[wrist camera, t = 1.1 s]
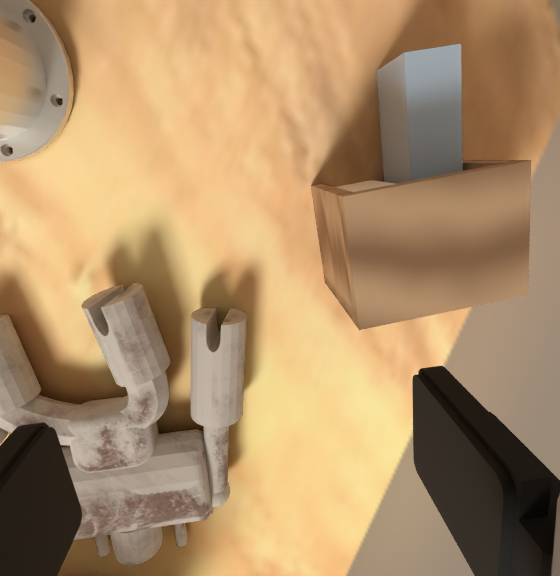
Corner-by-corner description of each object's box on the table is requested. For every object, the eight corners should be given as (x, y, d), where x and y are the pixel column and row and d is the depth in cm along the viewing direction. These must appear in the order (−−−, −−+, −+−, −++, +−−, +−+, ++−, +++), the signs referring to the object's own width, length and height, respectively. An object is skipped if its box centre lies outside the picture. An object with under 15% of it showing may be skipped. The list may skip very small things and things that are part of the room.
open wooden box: (310, 185, 35) (342, 196, 24) (443, 160, 35) (531, 160, 25) (325, 282, 38) (359, 329, 27) (447, 257, 38) (528, 294, 28)
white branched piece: (-106, 336, 36) (25, 580, 44) (-184, 371, 29) (-12, 653, 37) (231, 253, 38) (297, 502, 46) (232, 268, 31) (309, 558, 39)
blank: (375, 71, 33) (404, 52, 27) (422, 63, 33) (461, 43, 27) (386, 227, 37) (414, 238, 31) (428, 219, 37) (463, 230, 31)
